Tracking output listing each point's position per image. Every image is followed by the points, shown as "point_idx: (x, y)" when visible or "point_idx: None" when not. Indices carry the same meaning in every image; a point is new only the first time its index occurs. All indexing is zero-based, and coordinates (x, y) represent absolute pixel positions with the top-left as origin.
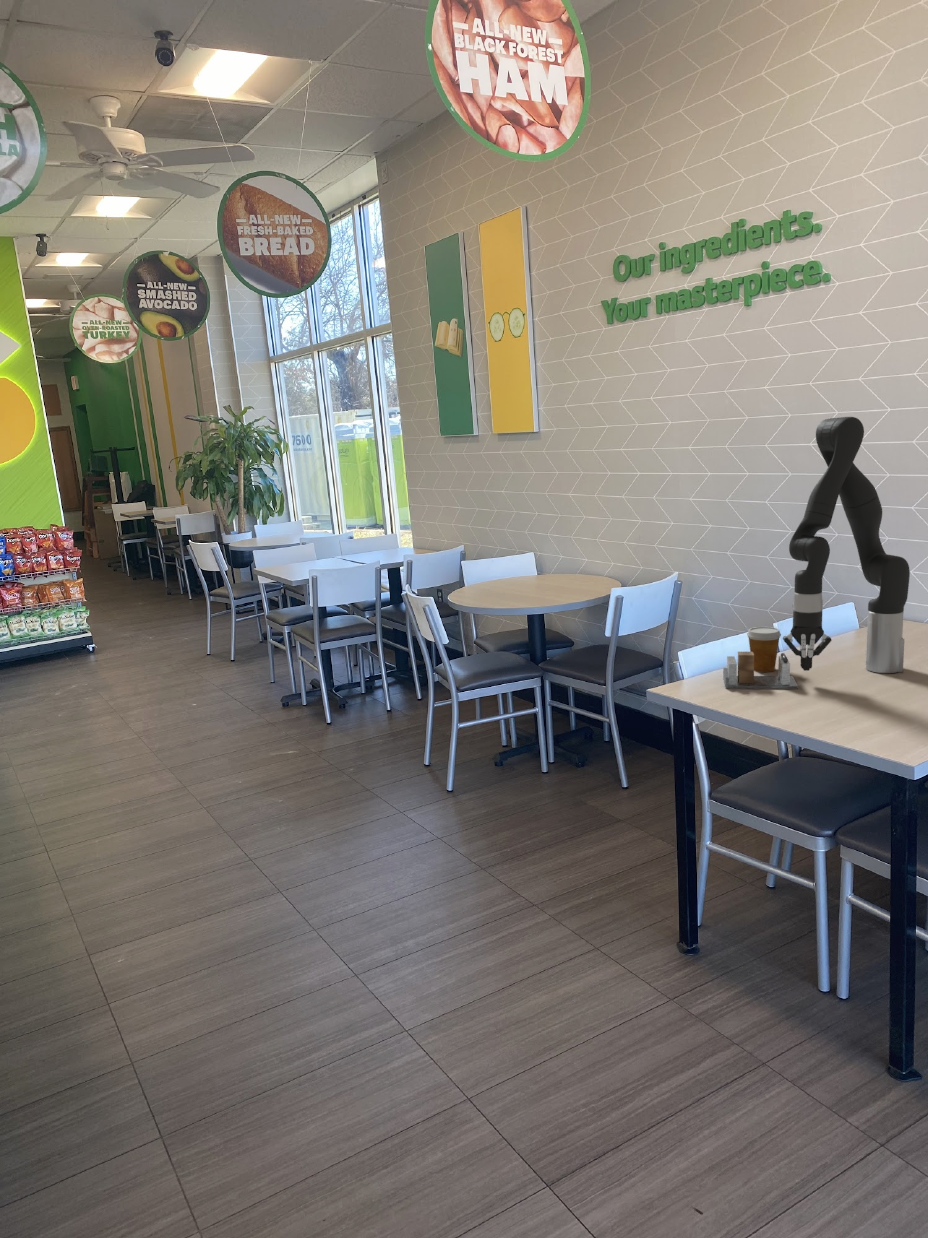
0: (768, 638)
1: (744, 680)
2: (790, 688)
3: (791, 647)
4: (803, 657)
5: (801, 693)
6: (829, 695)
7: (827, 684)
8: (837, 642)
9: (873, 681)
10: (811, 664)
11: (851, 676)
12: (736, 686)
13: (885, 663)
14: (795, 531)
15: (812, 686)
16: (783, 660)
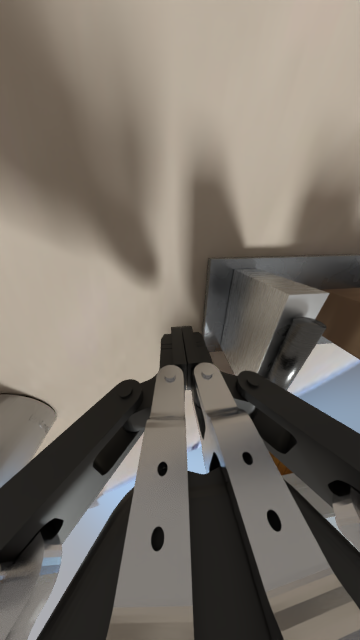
0: (303, 483)
1: (354, 291)
2: (230, 258)
3: (325, 423)
4: (207, 363)
5: (208, 197)
6: (100, 161)
7: (120, 312)
8: (120, 471)
9: (3, 344)
10: (163, 345)
11: (71, 372)
12: None
13: None
14: None
15: (161, 290)
16: (321, 322)
